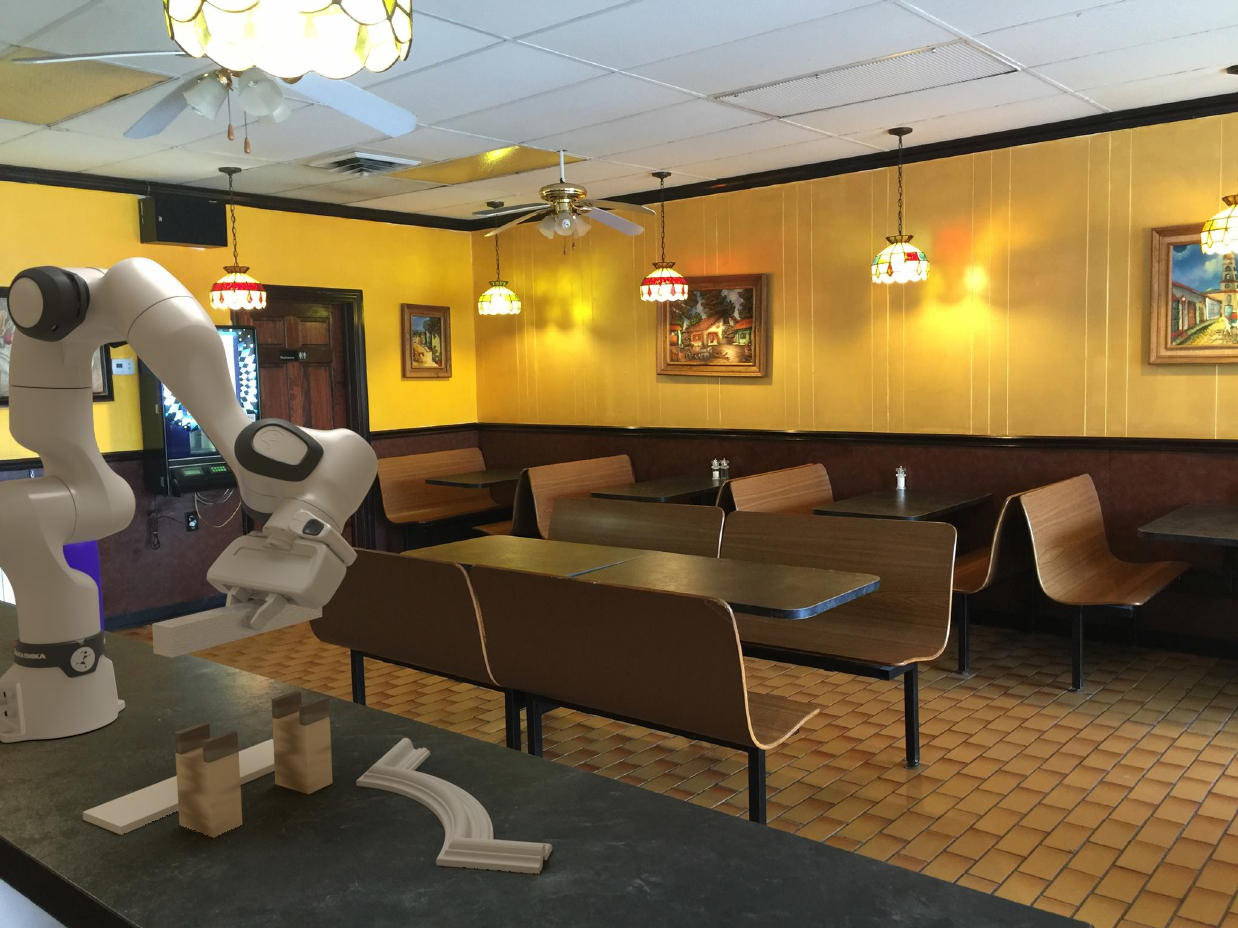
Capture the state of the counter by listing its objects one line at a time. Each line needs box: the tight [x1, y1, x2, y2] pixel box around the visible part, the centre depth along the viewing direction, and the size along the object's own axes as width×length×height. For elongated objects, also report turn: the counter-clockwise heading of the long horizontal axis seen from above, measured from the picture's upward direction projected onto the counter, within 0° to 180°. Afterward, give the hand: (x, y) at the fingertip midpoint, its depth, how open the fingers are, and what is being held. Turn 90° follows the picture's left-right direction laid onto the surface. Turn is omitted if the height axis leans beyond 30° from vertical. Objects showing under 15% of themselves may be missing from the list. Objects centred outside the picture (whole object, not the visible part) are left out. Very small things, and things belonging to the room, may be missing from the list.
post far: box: [271, 690, 333, 795], centre depth 131 cm, size 6×4×12 cm, turn 58°
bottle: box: [63, 540, 106, 638], centre depth 193 cm, size 8×8×30 cm
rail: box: [151, 598, 323, 658], centre depth 124 cm, size 4×22×4 cm, turn 148°
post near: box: [174, 722, 243, 839], centre depth 119 cm, size 6×4×12 cm, turn 58°
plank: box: [82, 738, 275, 836], centre depth 131 cm, size 8×28×1 cm, turn 148°
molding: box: [355, 737, 553, 875], centre depth 123 cm, size 42×12×3 cm, turn 34°
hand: (238, 625), depth 123 cm, fingers closed on rail, 3 cm apart
